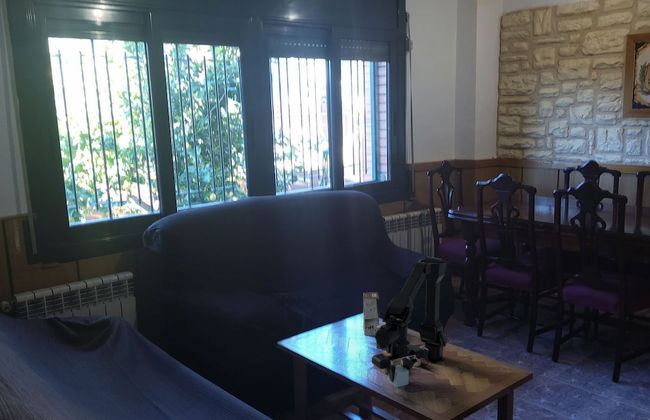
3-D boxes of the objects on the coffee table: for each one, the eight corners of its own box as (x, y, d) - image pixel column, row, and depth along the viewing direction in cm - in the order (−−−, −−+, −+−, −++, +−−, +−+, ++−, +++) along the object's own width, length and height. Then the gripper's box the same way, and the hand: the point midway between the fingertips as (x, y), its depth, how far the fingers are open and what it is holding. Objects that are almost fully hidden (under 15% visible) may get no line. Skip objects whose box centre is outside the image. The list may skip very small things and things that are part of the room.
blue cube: (399, 378, 193) (400, 364, 192) (408, 384, 188) (408, 370, 187) (388, 381, 190) (388, 367, 189) (396, 387, 186) (396, 373, 185)
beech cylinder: (415, 360, 207) (415, 347, 206) (423, 364, 203) (423, 352, 202) (405, 362, 205) (406, 350, 204) (413, 367, 201) (413, 354, 200)
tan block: (388, 362, 205) (389, 350, 204) (400, 370, 199) (400, 357, 198) (373, 367, 201) (373, 354, 201) (384, 374, 196) (385, 361, 195)
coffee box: (379, 335, 230) (379, 298, 227) (364, 335, 230) (364, 298, 227) (377, 327, 239) (378, 291, 236) (363, 327, 239) (363, 291, 236)
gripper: (406, 324, 198) (405, 364, 200) (363, 334, 189) (362, 376, 192) (426, 335, 188) (425, 377, 191) (381, 346, 179) (380, 390, 182)
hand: (398, 379), depth 189 cm, fingers closed on blue cube, 5 cm apart
